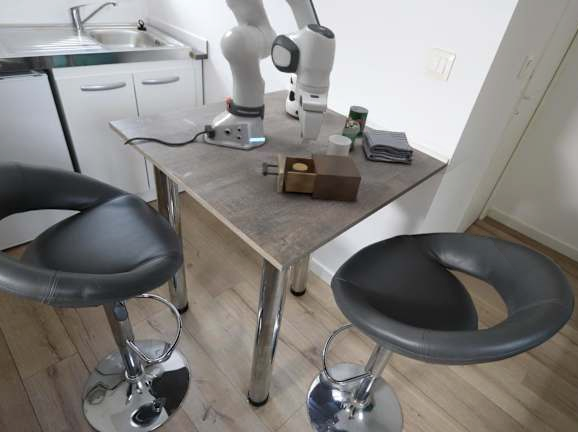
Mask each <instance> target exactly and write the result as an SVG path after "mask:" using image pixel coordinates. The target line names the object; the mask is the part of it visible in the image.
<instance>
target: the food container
mask: <svg viewBox="0 0 578 432" xmlns="http://www.w3.org/2000/svg"><path fill="white" fill-rule="evenodd" d="M359 132H360V126H359V123H358V122H356V121H354V120H352V119H348V117H346V120H345V124H344V127H343V128H342V133H341V136H345V137H347V138H349V139H350V140H351V146H350V149H349V152H351V151H353V149H354V145H355V142H356V139H357V137H356V136H357V133H359Z"/></svg>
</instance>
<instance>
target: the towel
mask: <svg viewBox="0 0 578 432" xmlns="http://www.w3.org/2000/svg"><path fill="white" fill-rule="evenodd" d="M361 145H362V147H363V149H364V152H365V154H366V157H367V159H368V160H371V161H379V162H393V163H406V164H411V163H412V161H413V160H414V157H413V156H414V149H413V147H412V146H411V145H410V143H409V141H408V138H407V134H406V132H404V131H391V130H384V129H383V130H381V129H368V130H366V131H363V138H362V139H361Z"/></svg>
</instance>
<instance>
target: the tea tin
mask: <svg viewBox="0 0 578 432" xmlns="http://www.w3.org/2000/svg"><path fill="white" fill-rule="evenodd" d="M307 168H308V167H307V166H306V165H304V164H301V163H296V164H294V165H293V170H292V172H301V173H307Z"/></svg>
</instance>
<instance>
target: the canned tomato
mask: <svg viewBox="0 0 578 432" xmlns="http://www.w3.org/2000/svg"><path fill="white" fill-rule="evenodd" d="M368 114H369V110H368V108H366V107H364V106H359V105H351V106H350V107H349V112H348V116H347V118H348V119H352V120H354V121H356V122H358V123H359V126H360V132H359V133H357V136H356V138H361V137H364V132H365V127H366V123H367V119H368Z"/></svg>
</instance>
